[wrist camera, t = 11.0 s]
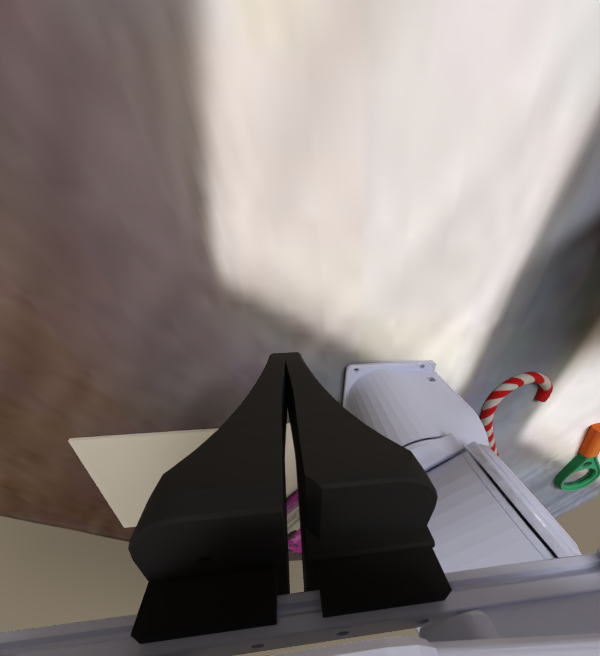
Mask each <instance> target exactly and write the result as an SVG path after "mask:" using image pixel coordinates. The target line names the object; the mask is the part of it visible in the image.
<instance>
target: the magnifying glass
mask: <svg viewBox="0 0 600 656" xmlns="http://www.w3.org/2000/svg"><path fill="white" fill-rule="evenodd" d="M599 452H600V423H597V424H593V425H591V427H590V429H589V431H588V433H587V435H586V437H585V440H584V442H583V444H582V446H581V448H580V450H579V453H578V455H577V456H576V457H575V458H574V459H573V460H572V461H571V462H570V463H569V464H568V465H567V466H566V467H565V468H564V469H563V470H562V471H561V472H560V473H559V474H558V475H557V476H556V479H555V483H556V484H557V485H558V486H559V487H560V488H561V489H562V490H565V491H574V490H578V489H581V488H584V487H586V486H588V485H589V484H591V483H592V482H594V481H595V480H596V479H597V478H598V477H599V476H600V465H599V462H598V459H597V457H598V456H597V455H598V454H599ZM589 468H590V471H589V472H588V473H587V474H586V475H585V476H583V477H582V478H580V479H578V480H576V481H573V482H569V483H563V482H564V481H565V480H566V479H567V478H568V477H569V476H570V475H572V474H573V473H575V472H578V471H580V470H584V469H589Z"/></svg>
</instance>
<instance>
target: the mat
mask: <svg viewBox="0 0 600 656" xmlns="http://www.w3.org/2000/svg"><path fill="white" fill-rule="evenodd" d="M218 429H219V428H213V429H199V430H184V431H170V432H155V433H141V434H126V435H112V436H97V437H82V438H70V439H69V440H68V441H69V443H70V445H71V446H72V448H73V449H74V451H75V452H76V454H77V455H78V457H79V458H80V460H81V462H82V463H83V465H84V466H85V468H86V469H87V471H88V472H89V474H90V476H91V477H92V479H93V480H94V482H95V483H96V485H97V486H98V488H99V489H100V491H101V493H102V494H103V496H104V497H105V499H106V500H107V502H108V503H109V505H110V507H111V508H112V510H113V511H114V513H115V514H116V516H117V517H118V519H119V520H120V522H121V524H122V525H123V527H124V528H127V527H136V526H137V523H138V521H139V519H140V517H141V514H142V512H143V510H144V508H145V506H146V503H147V501H148V500H149V498H150V496H151V494H152V492H153V490H154V489H155V487H156V485H157V484H158V482H159V480H160V478H161V476H162V475H163V474H164V473H165V472H167V471H168V470H169V469H171V468H172V467H173V466H175V465H176V464H177V463H179V462H180V461H181V460H183V459H184V458H185V457H187V456H188V455H189V454H191V453H192V452H193V451H194V450H196V449H197V448H198V447H199V446H200V445H201V444H202V443H204V442H205V441H206V440H207V439H208V438H209V437H210V436H211V435H212V434H213V433H215V432H216V431H217V430H218ZM285 476H286V498H287V497H289V496H290V495H291V494H292V493H293V492H294V491H296V490H297V489H298V488H297V473H296V460H295V451H294V445H293V439H292V432H291V426H290V423H287V425H286V445H285Z"/></svg>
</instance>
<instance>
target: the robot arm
mask: <svg viewBox="0 0 600 656" xmlns="http://www.w3.org/2000/svg"><path fill="white" fill-rule="evenodd" d="M421 365H422V366H421ZM435 366H436V364H435V362H433V361H431V360H430V361H411V362H392V363H372V364H353V365H348V366H347V367H346V373H345V383H344V394H343V404H342V405H341V404H340V403H338V402H337V401H336V400H335V399H334V398H333V397H332V396H331V395H330V394H329V393H328V392H327V391H326V389H325V388H324V387H323V386H322V385H321V384H320V383H319V381H318V380H317V379H316V378H315V376H314V375H313V374H312V372H311V371H310V370H309V368H308V367H307V365H306V364H305V362H304V361H303V359H302V357H301V355H300V354H299V353H298V352H293V353H274V354H271V355H270V356H269V359H268V362H267V364H266V366H265V368H264V370H263V372H262V374H261V376H260V377H259V379H258V381H257V382H256V384H255V385H254V387H253V388H252V390H251V391H250V393H249V394H248V396H247V397H246V398H245V400H244V401H243V402H242V404H241V405H240V406H239V407H238V408H237V410H236V411H235V412H234V413H233V414H232V415H231V416H230V417H229V418H228V420H227V421H226V422H225V423H224V424H223V425H222V426H221V427H220V428H219V429H218V430H217V431H216V432H215V433H213V434H212V435H211V436H210V437H209V438H208V439H207V440H206V441H205V442H204V443H202V444H201V445H200V446H199V447H198V448H197V449H196V450H194V451H193V452H192V453H191V454H189V455H188V456H187V457H185V458H184V459H183V460H181V461H180V462H179V463H177V464H176V465H175V466H173V467H172V468H171V469H169V470H168V471H167V472H165V473H164V474H163V475H162V476H161V478H160V480H159V482H158V484H157V485H156V487H155V489H154V490H153V492H152V494H151V496H150V498H149V500H148V501H147V503H146V506H145V508H144V510H143V512H142V514H141V517H140V519H139V521H138V523H137V526H136V528H135V530H134V532H133V535H132V537H131V539H130V542H129V548H128V549H129V552H130V554H131V557H132V559H133V561H134V562H135V564H136V565H137V566H138V568H139V569H140V571H141V572H142V573H143V575H144V576H145V577H146V579H147V580H148V581H149V583H148V586H147V589H146V592H145V594H144V597H143V600H142V603H141V606H140V609H139V611H138V614H136V615H128V616H121V617H113V618H105V619H98V620H91V621H83V622H76V623H68V624H61V625H53V626H46V627H38V628H31V629H24V630H16V631H8V632H1V633H0V656H232V655H239V654H246V653H253V652H259V651H266V650H272V649H278V648H285V647H292V646H298V645H305V644H312V643H318V642H325V641H332V640H338V639H345V638H351V637H358V636H365V635H371V634H378V633H385V632H391V631H397V630H404V629H410V628H415V630H416V632H417V633H418V635H419V637H420V638H418V637H413V636H401V637H388V638H378V639H372V640H365V641H358V642H352V643H346V644H339V645H333V646H326V647H319V648H313V649H306V650H300V651H293V652H287V653H280V654H273V655H268V656H600V547H599V548H598V549H597V553H591V554H583V555H582V554H581V553H580V552H579V548H578V546H577V544H576V543H575V542H574V541H573V540H572V539H571V537H570V536H569V535H568V534H567V533H566V531H565V530H563V528H562V527H561V526H560V525H559V524H558V522H557V521H556V520H555V519H554V518H553V517H552V516H551V514H550V513H549V512H548V511H547V510H546V509H545V508H544V507H543V506H542V504H541V503H540V502H539V501H538V500H537V499H536V498H535V497H534V495H533V494H532V493H531V492H530V491H529V490H528V489H527V488H526V487H525V485H524V484H523V483H522V482H521V481H520V480H519V479H518V478H517V477H516V476H515V474H514V473H513V472H512V471H511V470H510V469H509V468H508V467H507V466H506V465H505V463H504V462H503V461H502V460H501V459H500V458H499V457H498V456H497V455H496V454H495V453H494V452H493V450H492V449H491V448H490V447H489V442H488V437H487V433H486V431H485V428H484V426H483V424H482V422H481V420H480V419H479V417H478V415H477V414H476V413H475V411H474V410H473V409H472V408H471V407H470V406H469V405H468V404H467V403H466V402H465V401H464V400H463V399H462V398H461V397H460V396H459V395H458V394H457V393H456V392H455V391H454V390H453V389H452V388H451V387H450V386H449V385H448V384H447V383H446V382H445V381H444V380H443V379H442V378H441V377H440V376H439V375H438V374H437V373H436V372H435V371H434V370H435ZM356 368H358V369H357V370H354V369H356ZM287 407H288V413H289V420H290V426H291V432H292V439H293V445H294V451H295V460H296V473H297V488H298V503H299V517H300V533H301V548H302V563H303V579H304V592H299V593H292V594H290V584H289V557H288V531H287V503H286V476H285V445H286V425H287Z"/></svg>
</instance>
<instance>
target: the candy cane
mask: <svg viewBox="0 0 600 656" xmlns="http://www.w3.org/2000/svg"><path fill="white" fill-rule="evenodd" d="M529 383H538V384H539V390H538V393H537V394H536V396H535V399H537V400H538V401H541V402H545V401H546V400H547V399H548V398H549V396H550V394H551V392H552V389H553V385H552V382H551V380H550V379H549V378H548V377H546V376H545V375H543V374H541V373H538V372H527V373H522V374H519V375H517V376H514V377H512V378H510V379H508V380H506V381H505V382H503V383H502V384H501V385H499V386H498V387H497V388H496V389H495V390H494V391H493V392H492V393H491V394H490V395H489V397H488V398H487V400H486V401H485V403H484V406H483V408H482V412H481V416H480V420H481V422H482V424H483V426H484V428H485V431H486V433H487V437H488V442H489V447H490V448H491V449H492V450H493V452H494V453H495V454H496V455H497V456H498V457H499V454H498V451H497V448H496V445H495V440H494V435H493V416H494V413H495V410H496V408H497V406H498V404H499V403H500V402H501V400H502V399H503V398H504V397H505V396H506V395H507V394H509V393H510V392H511V391H513V390H515V389H516V388H518V387H520V386H523V385H525V384H529Z"/></svg>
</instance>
